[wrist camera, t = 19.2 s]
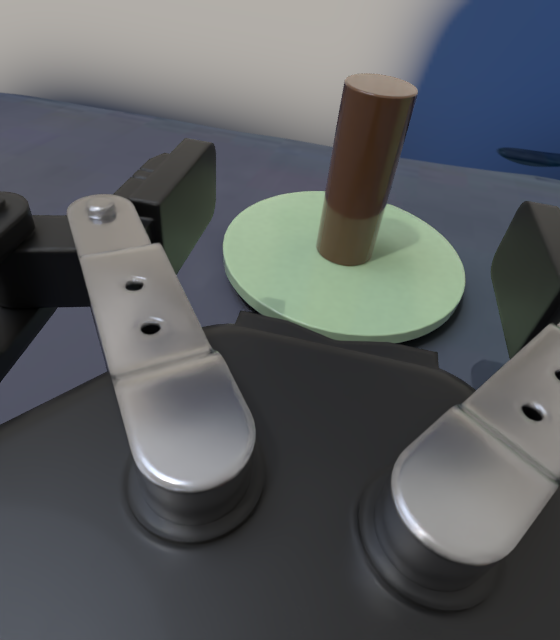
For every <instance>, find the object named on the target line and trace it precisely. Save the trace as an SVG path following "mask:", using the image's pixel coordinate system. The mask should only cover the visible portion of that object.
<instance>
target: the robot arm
mask: <svg viewBox="0 0 560 640" xmlns="http://www.w3.org/2000/svg"><path fill="white" fill-rule="evenodd" d="M215 202H216V150H215V146H214V144H213V143H210V142H205V141H199V140H194V139H188V138H185V139H184V140H183V141H182V142H181V143H180V144H179V145H178V146H177V147H176V148H175V149H174V150H173V151H172V152H171V153H170V154H168V153H163V154H161V155H158V156H156V157H153V158H151V159H149V160H148V161H147V162H146V163H145V164H144V165H143V166H142V167H141V168H140V170H138V171H137V172H136V173H134V174H133V177H130V178H129V179H128V180H127V181H126V182H125V183H124V184H123V185H122V186H121V187H120V188H119V189H118V190H117V191H116V192H115V193H114V194H113V195H110V194H98V195H91V196H87V197H83V198H81V199H78V200H76V201H75V202H73V203H72V204H71V205H70V206H69V207H68V209H67V215H65V216H52V215H32V214H31V211H30V208H29V204H28V201H27V200H26V199H25V198H24V197H23V196H21V195H19V194H16V193H11V192H0V382H1V381H2V379H3V378H4V377H5V376H6V374H7V373H8V372H9V370H10V369H11V368H12V366H13V365H14V364H15V363H16V361H17V360H18V359H19V357H20V356H21V355H22V354H23V352H24V351H25V350H26V348H27V347H28V346H29V344H30V343H31V342H32V341H33V339H34V338H35V337H36V335H37V334H38V333H39V331H40V330H41V329H42V328H43V326H44V325H45V324H46V322H47V321H48V320H49V318H50V317H51V316H52V315H53V313H54V312H55V311H56V309H57V307H90V308H91V312H92V316H93V320H94V323H95V327H96V331H97V335H98V339H99V342H100V346H101V350H102V354H103V357H104V361H105V365H106V369H107V372H105V373H103V374H101V375H99V376H97V377H95V378H93V379H91V380H89V381H87V382H85V383H83V384H81V385H79V386H77V387H75V388H73V389H71V390H69V391H67V392H65V393H63V394H61V395H59V396H57V397H55V398H53V399H51V400H49V401H47V402H45V403H43V404H41V405H39V406H37V407H35V408H33V409H31V410H29V411H27V412H25V413H23V414H21V415H19V416H17V417H15V418H13V419H11V420H9V421H7V422H5V423H3V424H1V425H0V640H560V209H559V208H558V207H557V206H551V205H546V204H540V203H535V202H529V201H525V202H523V203H522V204H521V205H520V207H519V208H518V210H517V212H516V214H515V216H514V218H513V220H512V222H511V224H510V226H509V228H508V230H507V231H506V233H505V235H504V237H503V239H502V241H501V243H500V245H499V247H498V249H497V251H496V253H495V256H494V258H493V262H492V266H491V279H492V283H493V287H494V292H495V296H496V301H497V305H498V309H499V314H500V318H501V323H502V327H503V331H504V336H505V340H506V345H507V349H508V353H509V358H510V360H509V361H508V362H507V363H506V364H505V365H504V366H503V367H502V368H500V369H499V370H498V371H497V372H496V373H495V374H494V375H493V376H492V377H491V378H490V379H488V380H487V381H486V382H485V383H484V384H483V385H482V386H481V387H480V388H479V389H477V390H475V389H474V388H472V387H471V386H470V385H468V384H467V383H466V382H464V381H462V380H461V379H459V378H458V377H456V376H454V375H452V374H450V373H448V372H447V371H445V370H442V369H440V368H439V366H438V353H437V352H433V351H428V350H423V349H419V348H414V347H409V346H405V345H400V344H395V343H391V342H373V341H340V340H334V339H331V338H329V337H326V336H324V335H321V334H319V333H317V332H314V331H312V330H309V329H307V328H305V327H302V326H300V325H297V324H295V323H292V322H290V321H288V320H283V319H278V318H274V317H269V316H264V315H260V314H255V313H250V312H245V311H240V313H239V316H238V318H237V321H236V323H235V324H217V325H211V326H205V327H201V325H200V323H199V321H198V319H197V317H196V315H195V313H194V311H193V309H192V307H191V305H190V303H189V301H188V299H187V297H186V295H185V292H184V290H183V288H182V286H181V284H180V282H179V280H178V278H177V276H176V275H177V273H178V271H179V270H180V268H181V267H182V265H183V264H184V262H185V260H186V259H187V257H188V256H189V254H190V252H191V251H192V249H193V248H194V246H195V244H196V243H197V241H198V240H199V238H200V237H201V235H202V233H203V232H204V230H205V229H206V227H207V225H208V224H209V222H210V221H211V219H212V216H213V213H214V209H215Z"/></svg>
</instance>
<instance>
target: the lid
mask: <svg viewBox="0 0 560 640" xmlns="http://www.w3.org/2000/svg"><path fill="white" fill-rule="evenodd" d="M417 94H418V91H417V88H416V87H415V86H413V85H412V84H410V83H408V82H406V81H404V80H401V79H398V78H395V77H391V76H386V75H380V74H355V75H351V76H348V77H347V78H346V79H345V81H344V87H343V93H342V98H341V104H340V110H339V115H338V122H337V127H336V133H335V138H334V145H333V150H332V155H331V161H330V167H329V173H328V178H327V184H326V190H325V191H306V192H295V193H288V194H283V195H278V196H274V197H271V198H267V199H265V200H262V201H260V202H257V203H255V204H254V205H252V206H250V207H248V208H247V209H245V210H244V211H242V212H241V213H240V214H239V215H238V216H237V217H236V218H235V219H234V220H233V221H232V222H231V224H230V225H229V227H228V229H227V231H226V233H225V236H224V241H223V265H224V268H225V272H226V275H227V277H228V279H229V281H230V283H231V285H232V286H233V287H234V289H235V290H236V291H237V293H238V294H239V295H240V296H241V297H242V298H243V299H244V300H245V301H246V302H247V303H248V304H249V305H250V306H251V307H252V308H254V309H255V310H256V311H258V312H259V313H260V314H262V315H264V316H269V317H274V318H278V319H283V320H288V321H290V322H292V323H295V324H297V325H300V326H302V327H305V328H307V329H309V330H312V331H314V332H317V333H319V334H321V335H324V336H326V337H329V338H331V339H334V340H340V341H373V342H391V343H395V344H396V343H401V342H405V341H409V340H413V339H416V338H418V337H421V336H423V335H426V334H428V333H430V332H432V331H433V330H435V329H437V328H438V327H440V326H441V325H442V324H443V323H445V322H446V321H447V320H448V319H449V318H450V317H451V315H452V314H453V313H454V312H455V310H456V308H457V306H458V304H459V302H460V300H461V298H462V295H463V293H464V288H465V272H464V268H463V264H462V262H461V260H460V258H459V256H458V254H457V252H456V251H455V250H454V248H453V247H452V245H451V244H450V243H449V242H448V241H447V240H446V239H445V238H444V237H443V236H442V235H441V234H440V233H439V232H438V231H437V230H435V229H434V228H433V227H431V226H430V225H429V224H427V223H426V222H424V221H422V220H421V219H419V218H418V217H416V216H414V215H412V214H410V213H408V212H406V211H404V210H402V209H400V208H397V207H395V206H393V205H390V204H387V201H388V197H389V194H390V190H391V187H392V183H393V180H394V176H395V172H396V169H397V165H398V162H399V158H400V155H401V151H402V148H403V144H404V140H405V136H406V133H407V130H408V126H409V122H410V119H411V115H412V112H413V108H414V105H415V101H416V98H417Z"/></svg>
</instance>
